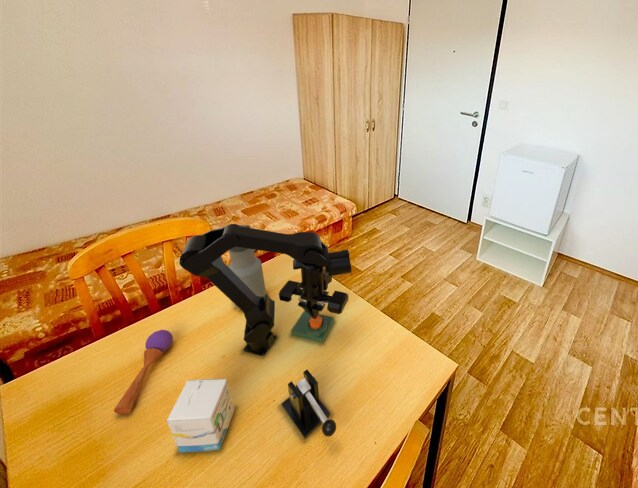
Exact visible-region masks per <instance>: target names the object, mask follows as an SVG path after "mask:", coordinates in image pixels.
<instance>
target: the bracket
mask: <svg viewBox="0 0 638 488" xmlns="http://www.w3.org/2000/svg"><path fill="white" fill-rule="evenodd" d="M303 378H305V379H306V380H307V382H308V383H309V385H310V386H311V392H310V393H311V394H312V396H313V398H314V399H315V401H316V402H317V404H318V405H319V407H320V408H321V410H322V411H323V413H324V414H325V416H326V417H327V419H329V418H330V417H331V412H330V410H328V409H327V407H326V406H325V405H324V403H323V402H322V401H321V400H320V394H319V393H320V392H319V391H320V390H319V382H318V380H317V378H316V376H314V375H313V374H312V373H311V372H310V371H309V369H305V370H304V371H303ZM287 389H288V396H289V397H288V398H287V399H285V400H284V401H283V402H281V408H282V409H283V411H284V412H285V414H286V416H288V418H289V419H290V421H291V422H292V424H293V425H294V427H295V428H296V429H297V431H298V432H299V434H300V436H301V437H302V438H303V440H306V439H307V438H308V437H309V436H310V435H311V434H312V433H313V432H314V431H316V429H318V428H319V427H320V426H321V425H323V424H322V422H321V421H320V419H319V418H318V416H317V415H316V413H315V412H314V410H313V408H312V407H311V405H310V404H309V402H308V401H307V399H306V398H305V397H304V398H303V399H302V394H301V393H300V392H299V390H298V389H297V388H296V384H294V382H293V381H292V380H291V381H290V382H288V383H287Z"/></svg>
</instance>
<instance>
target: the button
mask: <svg viewBox="0 0 638 488" xmlns="http://www.w3.org/2000/svg"><path fill="white" fill-rule="evenodd" d="M309 323H310V327H311V328H312V329H318V328H320V327H321V326H322V318H321V317H320V316H317V318H316V319H313V318H312V317H311V318H310V321H309Z"/></svg>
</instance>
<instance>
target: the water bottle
mask: <svg viewBox="0 0 638 488" xmlns="http://www.w3.org/2000/svg"><path fill="white" fill-rule="evenodd" d="M238 225H239V226H241V227H247V228H251V226H250V225H248V224H242V225H241V224H238ZM258 251H259V250H254V249H247V248H240V247H234V248H232V249H230V250H228V251H227V252H229V257H230V262H229V264H228V265H227V266H228V267H229V268H230V269H231V270H232V271H233V272H234V273H235V274H236V275H237V276H238V277H239V278H240V279H241V280H242V281H243V282H244V283H245V284H246V285H247V286H248V287H249V288H250V289H251V290H252V291H253V292H254V294H255V295H257V296H262V297H263V296H265V295H266V294H267V290H266V282H265V277H264V270H263V264H262V261H261V259H260V258H258V257H257V256H255V254H257V252H258ZM234 306H235V308H236V309H238V310H240V311H242V310H241V309H240V308H239V307H237V306H236V305H235V304H234Z"/></svg>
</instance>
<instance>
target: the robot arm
mask: <svg viewBox="0 0 638 488" xmlns="http://www.w3.org/2000/svg"><path fill="white" fill-rule="evenodd" d="M239 225H240V224H237V223H230V224H227V225H225V226H223V227H221V228H220V227H219V228H215V229H210V230H208V231H207V232H205V233H202V234H198V235H197V234H196V235H193V236H191V237H190V238H188V240H187V241H186V244H185V246H184V248H183V250H182V251H181V254H180V257H179V262H178V263H179V266H180V267H181V268H182V269H183V270H185V271H187V272H188V273H190V274H191V275H192V276H195V277H200V278H205V279H207V280H208V281H209V282H211V284H213V286H215V287H216V288H217V289H218V290H219V291H220V292H221V293H222V294H223V295H224V296H225V297H227V298H228V299H229V301H231V302H232V303H233V304H234V306H235V305H236V306H237V307H239V308H240V309H241V310H240V309H239V310H240V311H241V312H242V313H243V315H244V317H245V325H244V331H243V332H244V334H243V341H244V342H245V343H246V345H245V347H244V348H243V352H244V353H248V354H252V355H256V356H260V357H265V356H266V354H267V353H268V351H269V350H270V349H271V348H272V346H273V345H274V343H275V341H276V340H277V336H276V335H274V332H273V331H272V329H273V328H274V326H275V316H276V301H275V300H273V299H272V298H271V296H269V294H268V293H266V295H265V296H263V297H262V296H257V295H255V294H254V292H253V291H252V290H251V289H250V288H249V287H248V286H247V285H246V284H245V283H244V282H243V281H242V280H241V279H240V278H239V277H238V276H237V275H236V274H235V273H234V272H233V271H232V270H231V269H230V268H229V267H228V266H229V265H227V264H226V263H225V262H224V260H223V257H222V256H223V255H225V254H226V253H227V252H229V251H228V250H230V249H232V248H234V247H240V248H247V249H254V250H258V251H262V252H270V253H276V254H283V255H285V256H286V255H287V256H288V257H290V258H291V259H293V260H292V269H293V270H294V271H295V270H296V271H297V270H300V276H301V281H296V280H290V279H289V280H287V281H286V283H285V284H284V285H283V286H282V287H281V289H280V290H279V292H278V298H279V300H280V301H281V302H285V303H289V302H291V301H292V300H293V299H292V297H293V296H297V297H298V298H297V299H298V303H297V306H298V307H300V308H301V309H302V310H303V311H304V310H305V311H306V312H307V313H308V314H309V315H310V316H311V317H312V318H313V319H316V318H317V316H318V314H320V312H322V311H323V310H324V308H325V307H326V309H327V311H328V312H329V313H331V314H336V315H341V314H342V313H343V312H344V310H345V307H346V306H347V303H348V301H349V294H348V293H347V292H343V291H339V290H334V291H333V293H332V295H329V294H330V292H329V291H327V290H328V289H329V284H330V283H332V281H333V277H334V276H341V275H346V274H347V275H348V274H352V264H351V258H350V252H349V249H343V250H342V249H341V250H338V251H329V248H328V246H327V245H326V244H325V243H324V242H323V241H322V240H321V239H322V238H321V237H320V235H319V234H318V233H316V232H312V231H299V232H298V231H297V232H295V233H282V232H277V231H270V230H264V229H259V228H252V227H250V228H247V227H241V226H239ZM326 305H327V306H326ZM236 306H235V307H236ZM237 307H236V308H237Z"/></svg>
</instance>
